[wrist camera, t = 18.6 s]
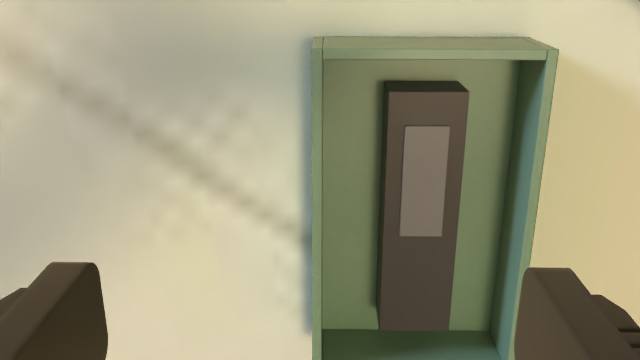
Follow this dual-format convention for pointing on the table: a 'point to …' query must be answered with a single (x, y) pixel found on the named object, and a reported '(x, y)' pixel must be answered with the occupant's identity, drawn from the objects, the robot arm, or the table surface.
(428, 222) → the block
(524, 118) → the bin
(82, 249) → the table surface
